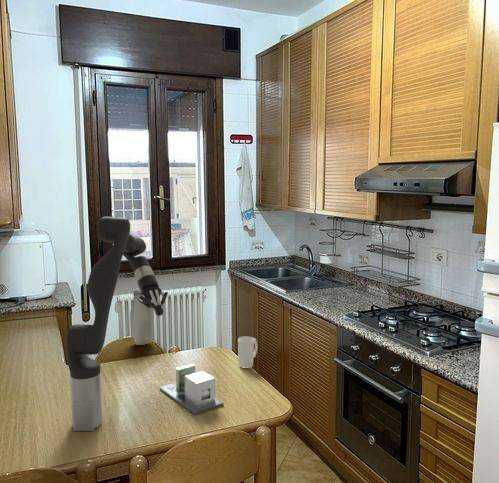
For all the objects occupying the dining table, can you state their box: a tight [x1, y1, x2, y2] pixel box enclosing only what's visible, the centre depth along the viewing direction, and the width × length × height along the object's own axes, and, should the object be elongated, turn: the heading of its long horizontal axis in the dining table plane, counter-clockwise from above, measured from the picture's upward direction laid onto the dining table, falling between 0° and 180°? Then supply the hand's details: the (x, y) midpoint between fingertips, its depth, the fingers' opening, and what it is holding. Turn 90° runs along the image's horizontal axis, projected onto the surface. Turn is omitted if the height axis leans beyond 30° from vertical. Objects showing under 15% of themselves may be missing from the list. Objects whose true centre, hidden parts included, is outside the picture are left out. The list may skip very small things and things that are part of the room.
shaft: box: [175, 363, 210, 399], centre depth 172 cm, size 15×7×9 cm, turn 38°
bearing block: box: [159, 370, 225, 416], centre depth 175 cm, size 25×12×10 cm, turn 38°
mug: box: [237, 336, 258, 369], centre depth 205 cm, size 10×7×12 cm, turn 132°
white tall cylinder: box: [129, 287, 153, 346], centre depth 228 cm, size 10×10×28 cm
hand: (160, 314), depth 189 cm, fingers closed
